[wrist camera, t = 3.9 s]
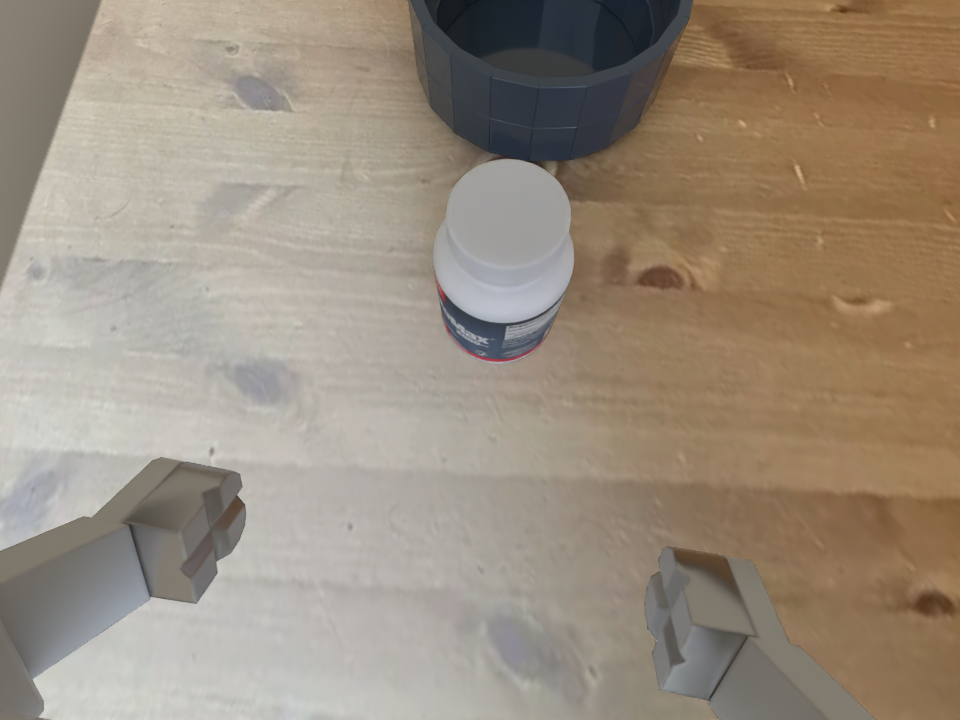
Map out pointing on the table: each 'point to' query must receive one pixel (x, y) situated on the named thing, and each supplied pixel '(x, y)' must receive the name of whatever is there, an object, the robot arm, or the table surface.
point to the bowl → (544, 69)
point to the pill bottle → (503, 259)
